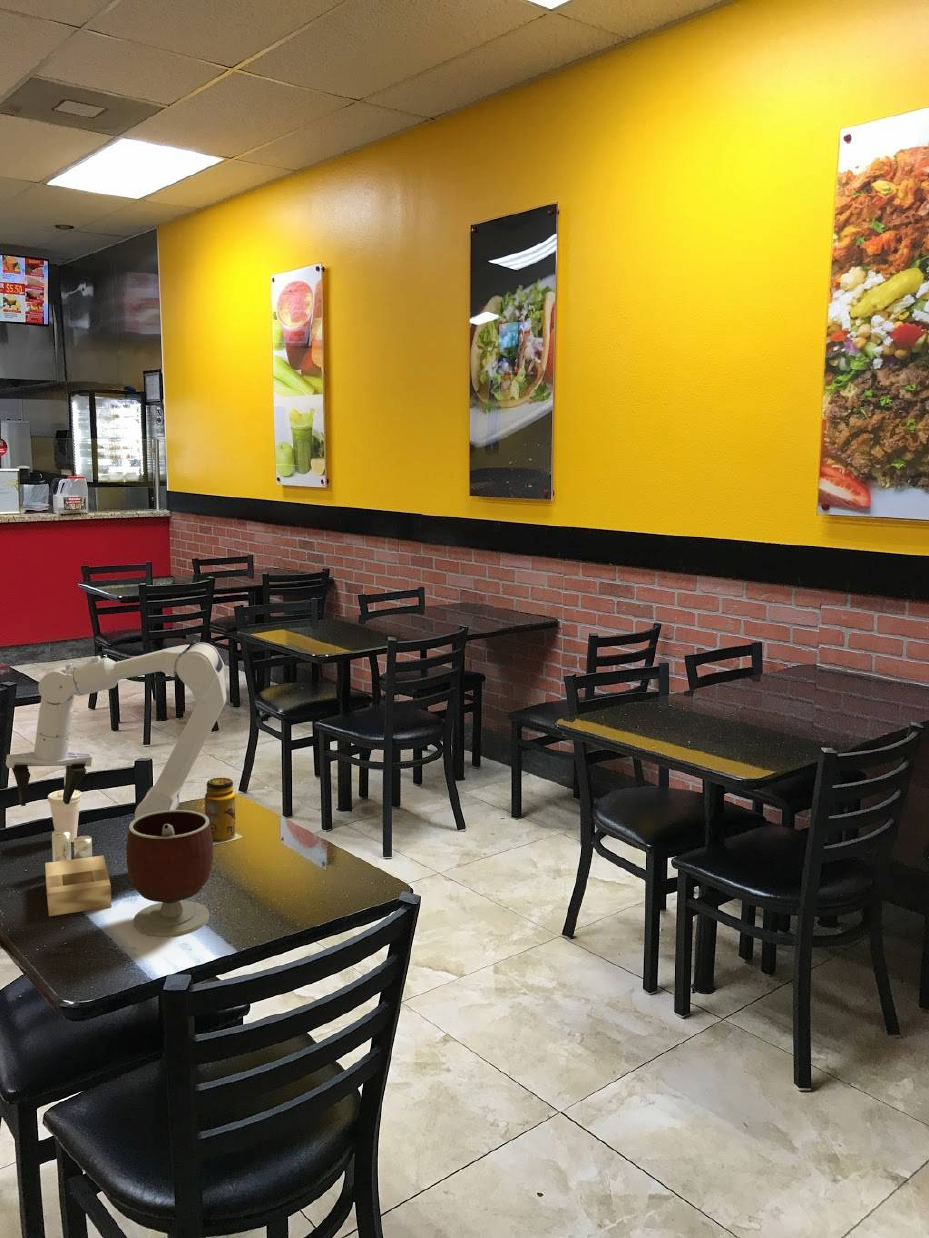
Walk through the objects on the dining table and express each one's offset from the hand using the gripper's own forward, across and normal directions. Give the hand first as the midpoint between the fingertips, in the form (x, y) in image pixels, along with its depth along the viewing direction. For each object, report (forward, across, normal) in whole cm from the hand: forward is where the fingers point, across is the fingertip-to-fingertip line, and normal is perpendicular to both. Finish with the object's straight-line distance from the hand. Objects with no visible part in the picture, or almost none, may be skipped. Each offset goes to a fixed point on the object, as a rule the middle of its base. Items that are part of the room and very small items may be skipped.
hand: (44, 803), depth 185 cm
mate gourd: (+9, -14, +33) cm, 37 cm away
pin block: (+12, -4, +14) cm, 19 cm away
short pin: (+12, -9, -2) cm, 16 cm away
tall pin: (+13, -4, +3) cm, 14 cm away
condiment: (+9, -35, 0) cm, 36 cm away
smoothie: (+14, -9, -13) cm, 21 cm away
